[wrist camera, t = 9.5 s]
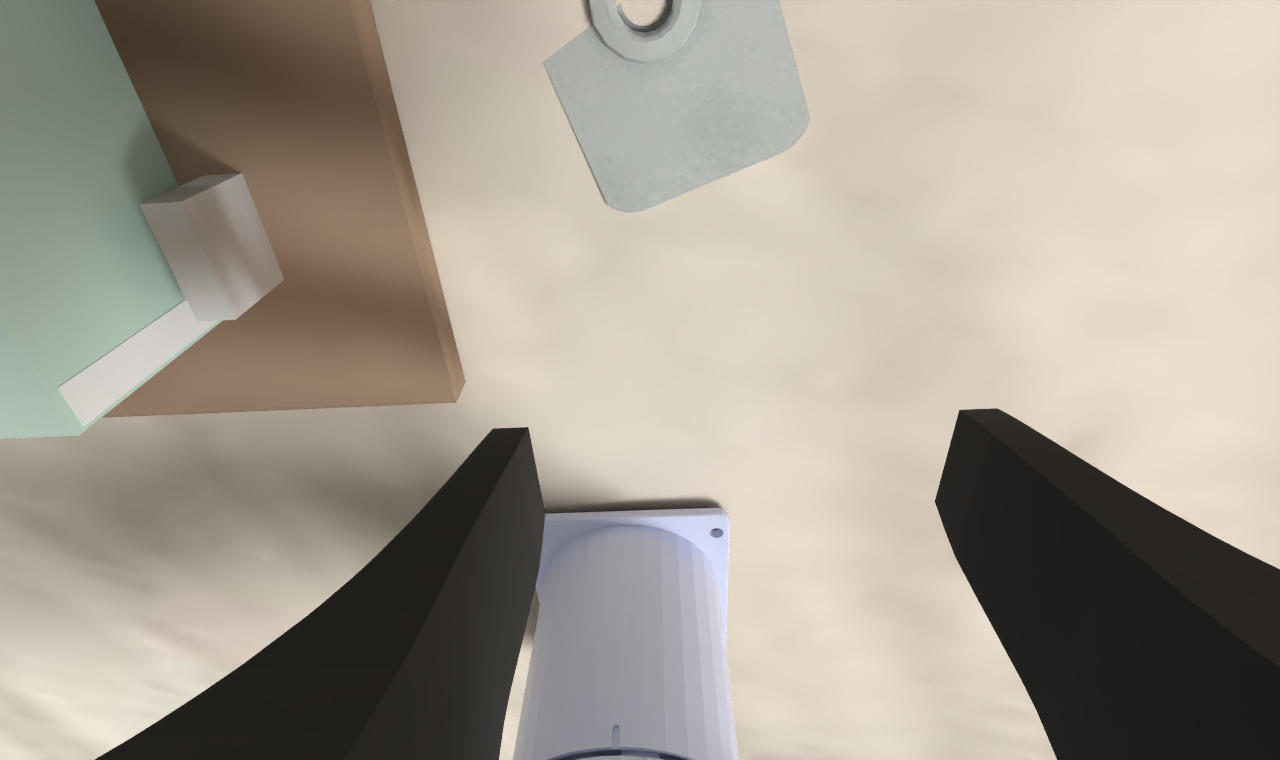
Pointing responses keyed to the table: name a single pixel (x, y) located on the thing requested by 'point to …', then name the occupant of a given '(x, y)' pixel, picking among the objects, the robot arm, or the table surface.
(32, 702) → the table surface
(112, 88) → the door panel
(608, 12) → the mounting bracket
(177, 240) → the cabinet base
